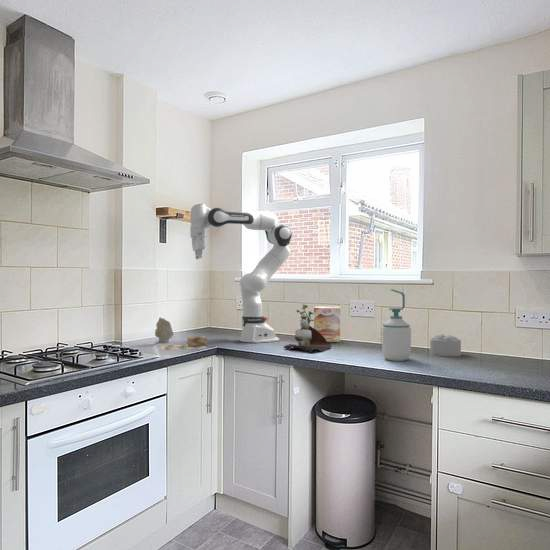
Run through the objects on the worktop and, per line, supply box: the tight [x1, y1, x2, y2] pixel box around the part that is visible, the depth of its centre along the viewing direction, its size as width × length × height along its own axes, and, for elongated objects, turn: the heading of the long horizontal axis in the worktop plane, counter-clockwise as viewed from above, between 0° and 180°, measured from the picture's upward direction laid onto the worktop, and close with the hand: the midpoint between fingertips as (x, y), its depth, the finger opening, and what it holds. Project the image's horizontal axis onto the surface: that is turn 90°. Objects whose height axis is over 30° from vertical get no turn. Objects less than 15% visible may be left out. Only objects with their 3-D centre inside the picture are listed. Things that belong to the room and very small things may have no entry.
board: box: [160, 343, 207, 351], centre depth 218 cm, size 22×13×1 cm, turn 109°
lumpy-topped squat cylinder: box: [429, 334, 462, 357], centre depth 199 cm, size 10×13×9 cm
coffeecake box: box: [313, 306, 342, 343], centre depth 242 cm, size 15×7×20 cm, turn 80°
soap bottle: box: [381, 288, 412, 362], centre depth 188 cm, size 12×12×31 cm
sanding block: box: [187, 335, 207, 347], centre depth 221 cm, size 9×5×4 cm, turn 109°
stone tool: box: [154, 316, 174, 343], centre depth 234 cm, size 11×4×15 cm, turn 77°
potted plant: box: [283, 304, 332, 353], centre depth 219 cm, size 20×19×25 cm
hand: (198, 258), depth 234 cm, fingers open, 8 cm apart
